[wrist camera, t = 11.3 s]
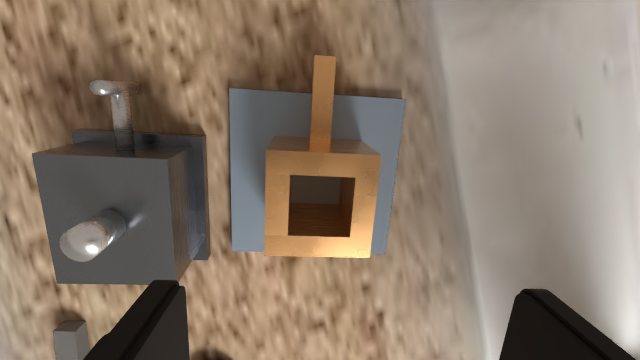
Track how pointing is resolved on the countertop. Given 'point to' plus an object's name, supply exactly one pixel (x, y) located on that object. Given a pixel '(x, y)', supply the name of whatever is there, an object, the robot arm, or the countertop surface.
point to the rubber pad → (294, 120)
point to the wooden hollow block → (321, 160)
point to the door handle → (71, 340)
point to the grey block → (124, 200)
